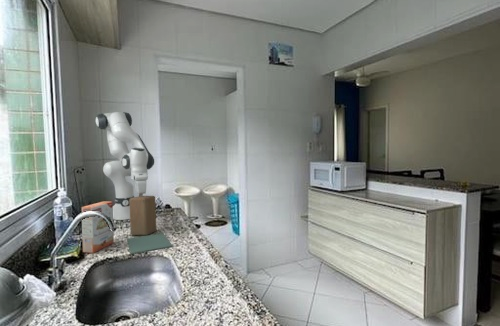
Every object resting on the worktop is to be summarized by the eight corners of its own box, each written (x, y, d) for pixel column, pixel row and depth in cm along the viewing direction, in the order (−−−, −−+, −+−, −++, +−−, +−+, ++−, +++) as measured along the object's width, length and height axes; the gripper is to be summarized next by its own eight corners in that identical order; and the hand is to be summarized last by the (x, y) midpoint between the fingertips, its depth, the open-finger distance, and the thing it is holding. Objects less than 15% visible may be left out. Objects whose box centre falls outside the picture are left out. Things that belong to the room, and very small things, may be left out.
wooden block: (146, 236, 139) (145, 198, 139) (129, 235, 141) (128, 198, 141) (157, 230, 149) (155, 195, 148) (141, 230, 151) (139, 195, 150)
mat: (126, 239, 135) (126, 238, 135) (163, 233, 144) (162, 232, 144) (130, 254, 116) (130, 253, 116) (172, 246, 125) (172, 245, 125)
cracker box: (94, 253, 118) (92, 207, 116) (82, 252, 118) (80, 206, 117) (115, 242, 131) (113, 201, 130) (104, 242, 132) (102, 200, 131)
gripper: (131, 175, 160) (132, 197, 161) (135, 177, 142) (136, 203, 143) (142, 174, 163) (143, 196, 164) (147, 176, 145) (148, 201, 146)
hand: (140, 199), depth 153 cm, fingers closed
